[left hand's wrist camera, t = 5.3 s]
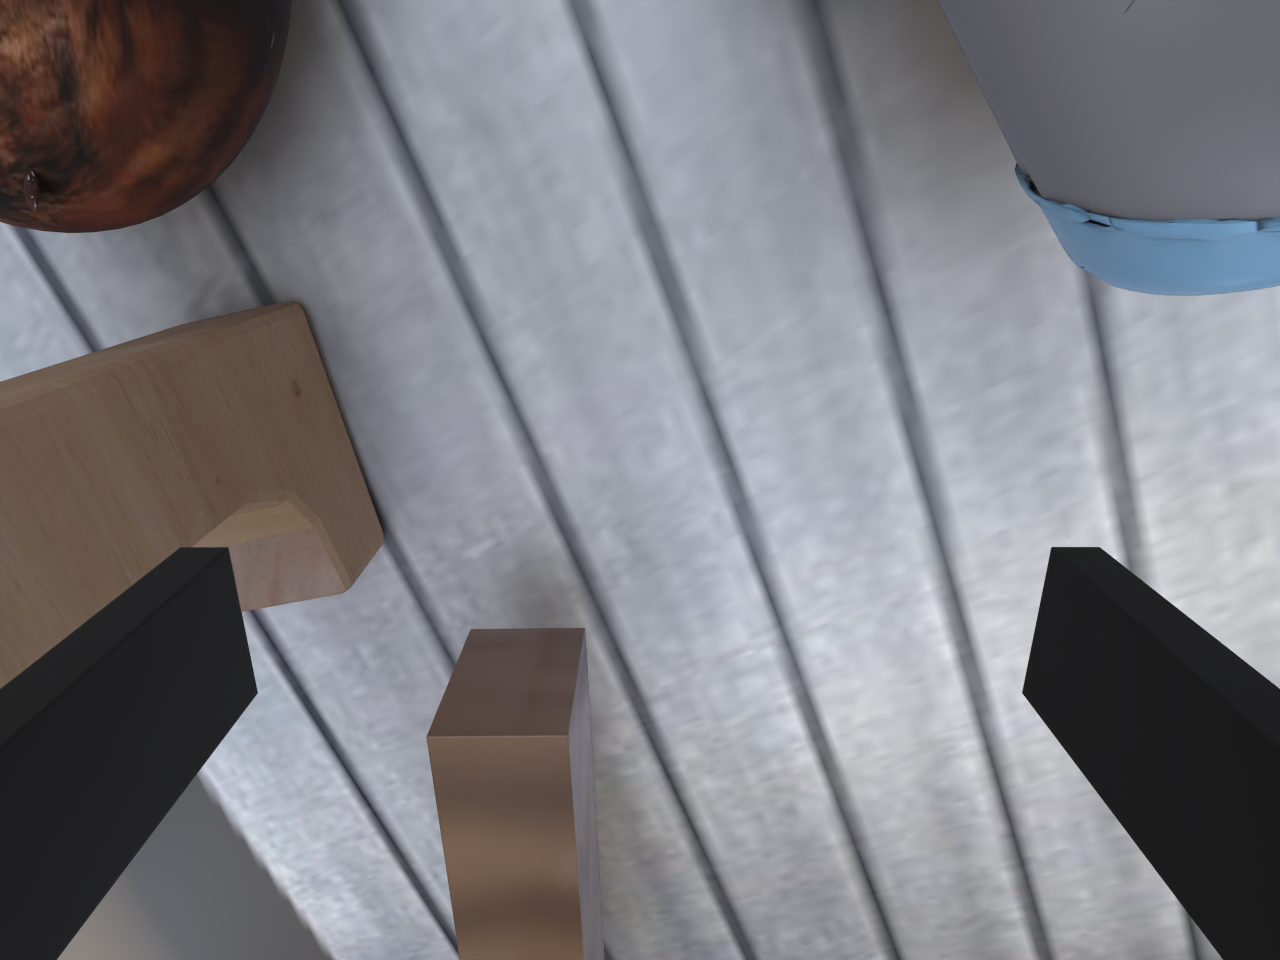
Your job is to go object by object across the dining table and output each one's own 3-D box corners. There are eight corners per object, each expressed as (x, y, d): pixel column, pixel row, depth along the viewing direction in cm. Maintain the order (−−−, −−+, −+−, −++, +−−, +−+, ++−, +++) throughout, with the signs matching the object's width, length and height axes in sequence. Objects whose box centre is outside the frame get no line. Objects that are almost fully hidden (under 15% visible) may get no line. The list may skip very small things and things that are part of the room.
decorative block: (276, 562, 49) (-228, 1076, 21) (176, 324, 44) (-669, 590, 16) (390, 540, 48) (28, 1043, 20) (304, 296, 43) (-344, 522, 15)
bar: (470, 628, 41) (426, 736, 33) (585, 627, 41) (568, 735, 33) (521, 1056, 53) (497, 1211, 45) (610, 1057, 52) (601, 1212, 45)
